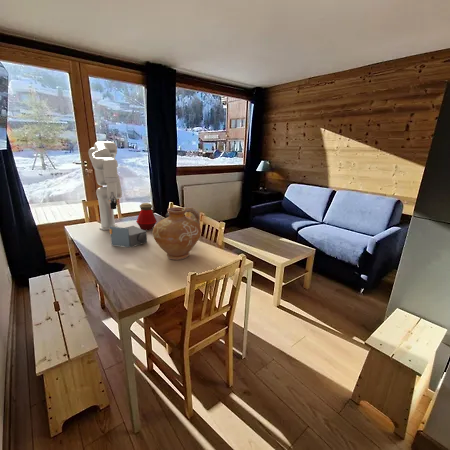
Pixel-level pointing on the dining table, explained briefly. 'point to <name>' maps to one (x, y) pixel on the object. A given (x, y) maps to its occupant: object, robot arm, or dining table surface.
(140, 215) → the bottle
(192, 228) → the jug
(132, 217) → the dining table surface
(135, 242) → the box
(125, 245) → the side door
